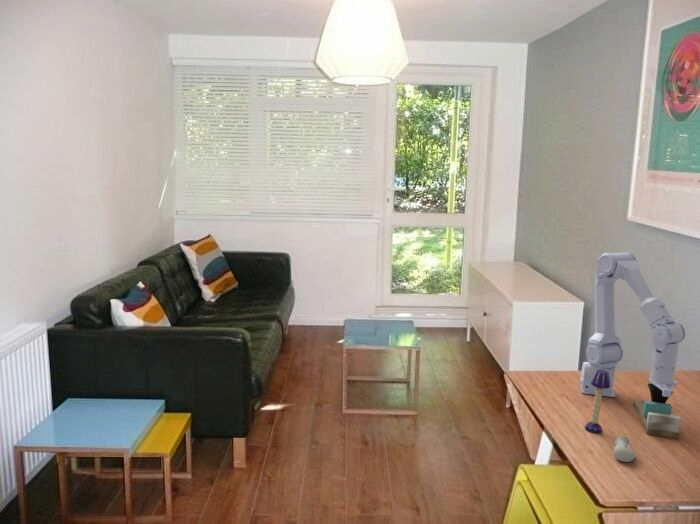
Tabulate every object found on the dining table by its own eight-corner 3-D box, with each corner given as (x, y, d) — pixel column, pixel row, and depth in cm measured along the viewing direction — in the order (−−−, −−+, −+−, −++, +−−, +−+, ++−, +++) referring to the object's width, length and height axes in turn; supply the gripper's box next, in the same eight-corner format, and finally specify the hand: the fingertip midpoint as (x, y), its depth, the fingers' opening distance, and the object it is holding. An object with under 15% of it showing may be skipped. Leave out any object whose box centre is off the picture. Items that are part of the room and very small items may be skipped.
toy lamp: (589, 423, 160) (597, 366, 156) (606, 429, 156) (614, 371, 153) (582, 429, 156) (589, 370, 153) (599, 435, 153) (607, 376, 150)
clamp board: (646, 433, 155) (649, 414, 154) (632, 404, 173) (635, 387, 172) (677, 438, 153) (680, 419, 152) (660, 408, 171) (663, 390, 170)
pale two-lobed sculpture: (630, 470, 139) (609, 459, 141) (631, 455, 146) (611, 444, 148) (639, 456, 138) (617, 445, 139) (639, 441, 145) (619, 430, 146)
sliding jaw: (644, 416, 161) (646, 403, 160) (642, 413, 163) (644, 400, 162) (669, 420, 159) (672, 406, 158) (668, 417, 161) (670, 404, 160)
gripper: (687, 376, 152) (679, 424, 155) (672, 357, 166) (665, 402, 169) (657, 373, 154) (650, 420, 157) (645, 354, 168) (639, 398, 171)
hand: (656, 410), depth 163 cm, fingers closed
